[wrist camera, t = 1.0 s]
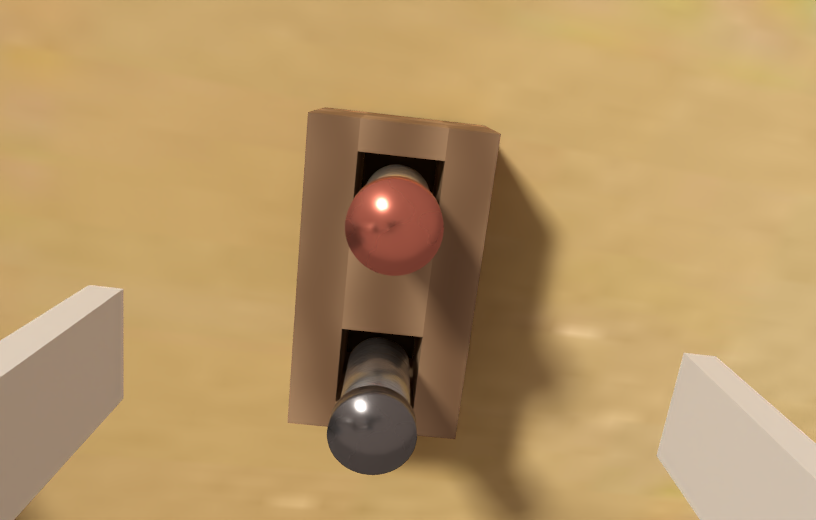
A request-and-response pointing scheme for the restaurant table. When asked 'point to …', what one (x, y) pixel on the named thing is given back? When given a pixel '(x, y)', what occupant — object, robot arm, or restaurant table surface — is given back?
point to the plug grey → (374, 410)
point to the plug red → (394, 222)
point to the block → (382, 294)
